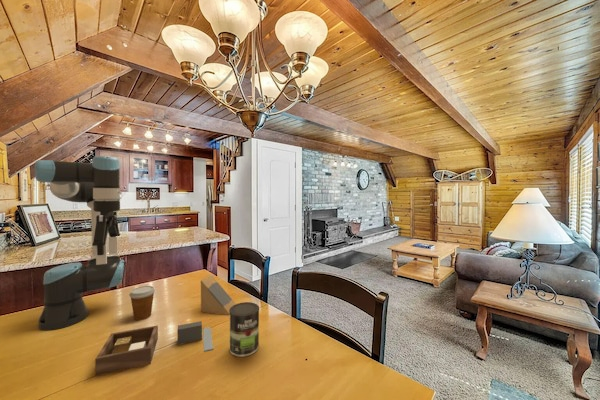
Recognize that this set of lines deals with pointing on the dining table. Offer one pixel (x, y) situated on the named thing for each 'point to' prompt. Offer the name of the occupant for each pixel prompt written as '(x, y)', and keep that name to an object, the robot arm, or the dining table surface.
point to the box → (127, 359)
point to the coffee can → (244, 329)
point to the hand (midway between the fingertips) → (107, 258)
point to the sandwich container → (214, 297)
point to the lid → (195, 334)
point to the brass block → (122, 344)
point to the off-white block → (137, 345)
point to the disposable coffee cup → (142, 301)
